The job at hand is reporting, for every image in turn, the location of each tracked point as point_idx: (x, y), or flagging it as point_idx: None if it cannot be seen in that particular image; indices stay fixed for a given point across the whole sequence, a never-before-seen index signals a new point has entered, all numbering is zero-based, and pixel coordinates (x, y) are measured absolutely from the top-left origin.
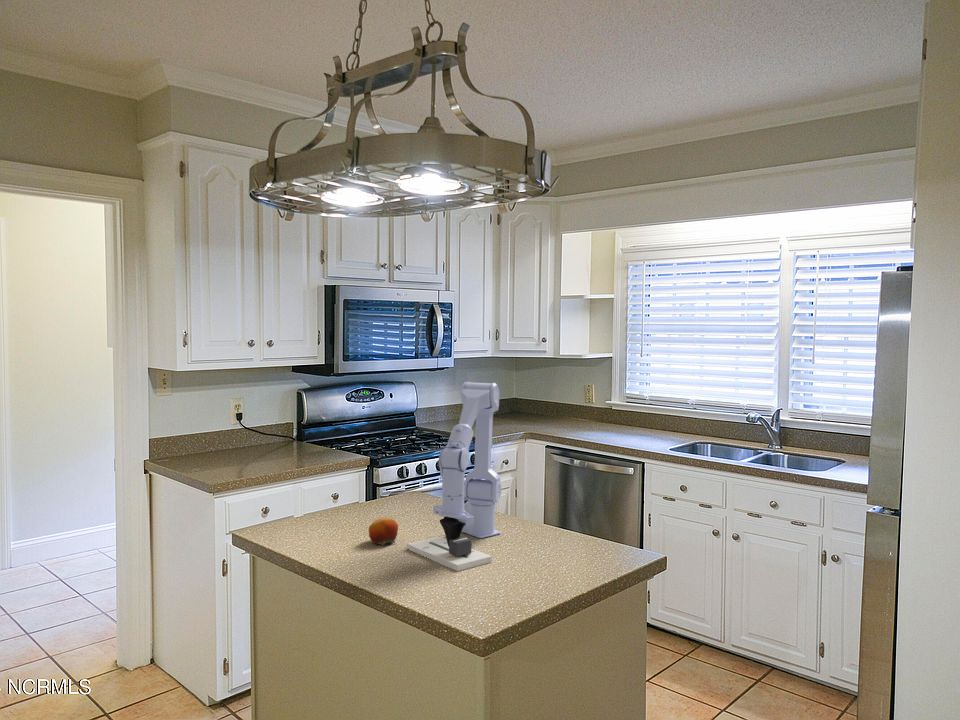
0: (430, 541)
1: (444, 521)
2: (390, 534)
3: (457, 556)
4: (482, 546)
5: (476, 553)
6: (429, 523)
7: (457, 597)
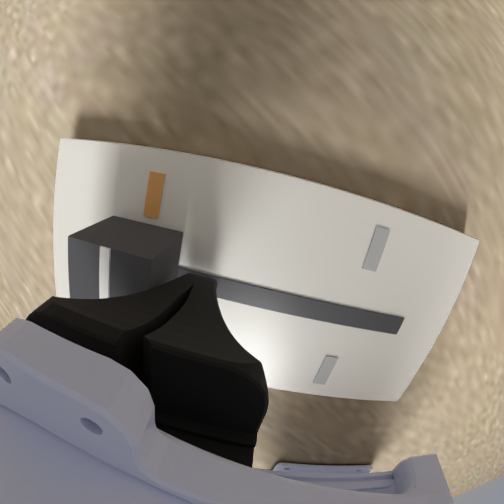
0: (405, 338)
1: (148, 357)
2: None
3: (112, 216)
4: None
5: None
6: (467, 441)
7: (3, 18)
